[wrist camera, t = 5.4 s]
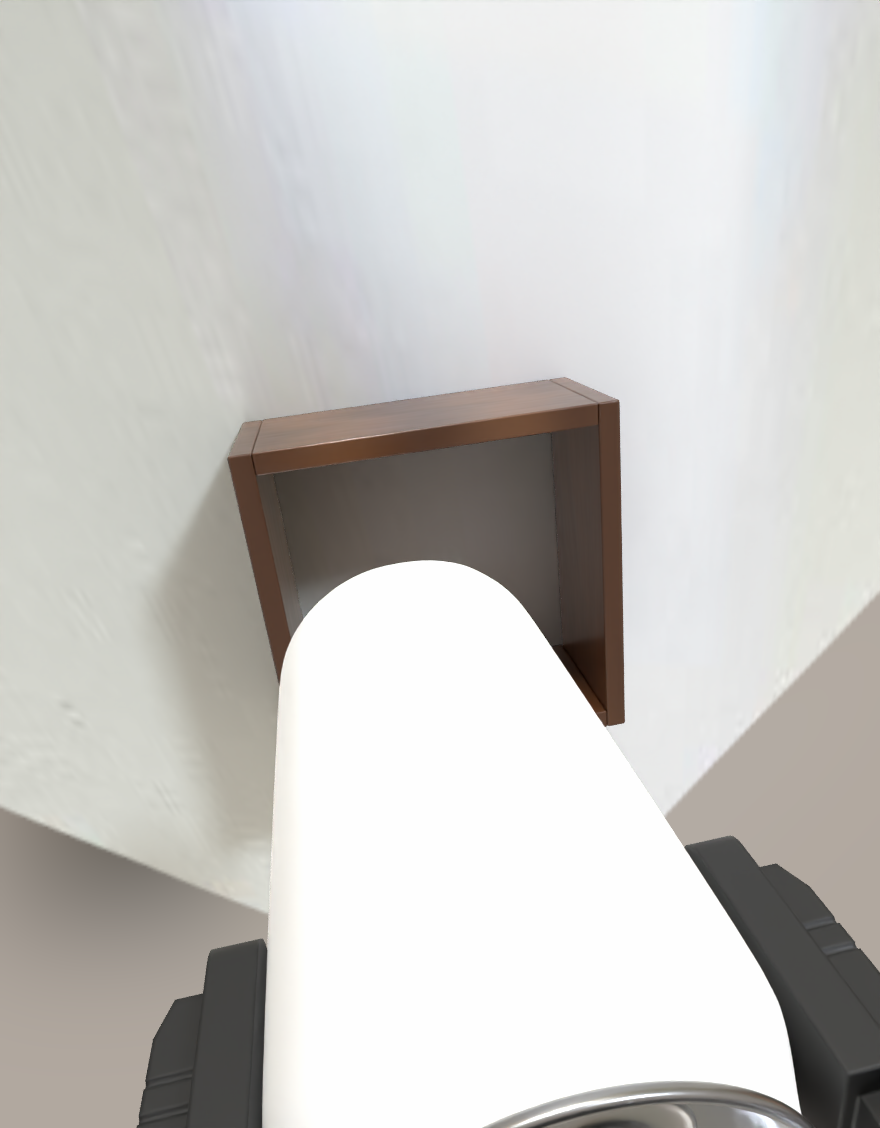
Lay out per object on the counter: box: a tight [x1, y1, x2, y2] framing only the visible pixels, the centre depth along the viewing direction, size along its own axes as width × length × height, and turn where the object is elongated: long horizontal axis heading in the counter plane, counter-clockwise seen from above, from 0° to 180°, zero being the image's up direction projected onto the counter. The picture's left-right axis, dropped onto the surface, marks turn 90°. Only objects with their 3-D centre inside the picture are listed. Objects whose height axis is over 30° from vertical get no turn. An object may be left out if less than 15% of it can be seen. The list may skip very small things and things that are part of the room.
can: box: [262, 561, 815, 1128], centre depth 13 cm, size 6×6×12 cm
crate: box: [228, 377, 625, 727], centre depth 30 cm, size 14×14×6 cm
